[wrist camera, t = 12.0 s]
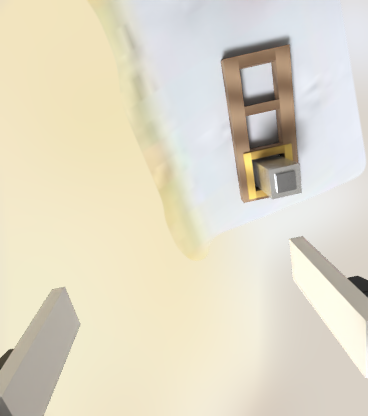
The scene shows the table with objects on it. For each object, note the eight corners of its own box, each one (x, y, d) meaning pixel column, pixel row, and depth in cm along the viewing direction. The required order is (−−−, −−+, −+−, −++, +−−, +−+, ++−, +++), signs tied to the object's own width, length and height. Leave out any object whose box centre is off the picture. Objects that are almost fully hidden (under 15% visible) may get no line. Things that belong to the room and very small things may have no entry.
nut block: (251, 159, 50) (269, 170, 41) (276, 154, 49) (300, 163, 41) (254, 184, 51) (273, 200, 42) (279, 178, 51) (302, 193, 42)
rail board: (220, 61, 44) (223, 58, 42) (284, 47, 44) (290, 43, 42) (241, 199, 52) (244, 203, 50) (295, 187, 52) (301, 191, 49)
